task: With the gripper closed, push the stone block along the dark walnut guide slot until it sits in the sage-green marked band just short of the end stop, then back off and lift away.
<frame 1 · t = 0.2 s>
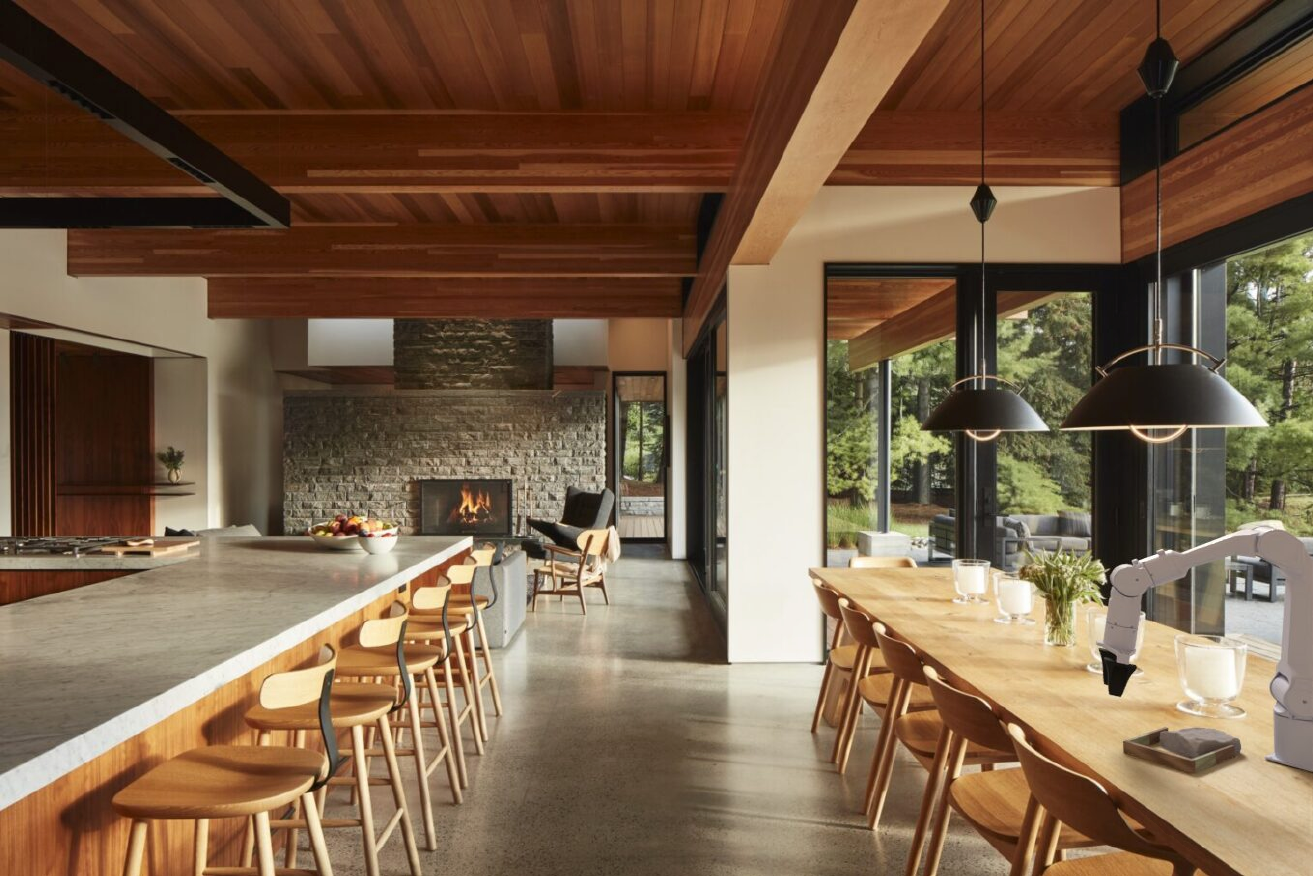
hand: (1112, 690, 167), 11 cm above the table, tool pointing down, fingers open, 7 cm apart
stone block: (1197, 751, 163), on the table
guide slot: (1178, 754, 160), on the table
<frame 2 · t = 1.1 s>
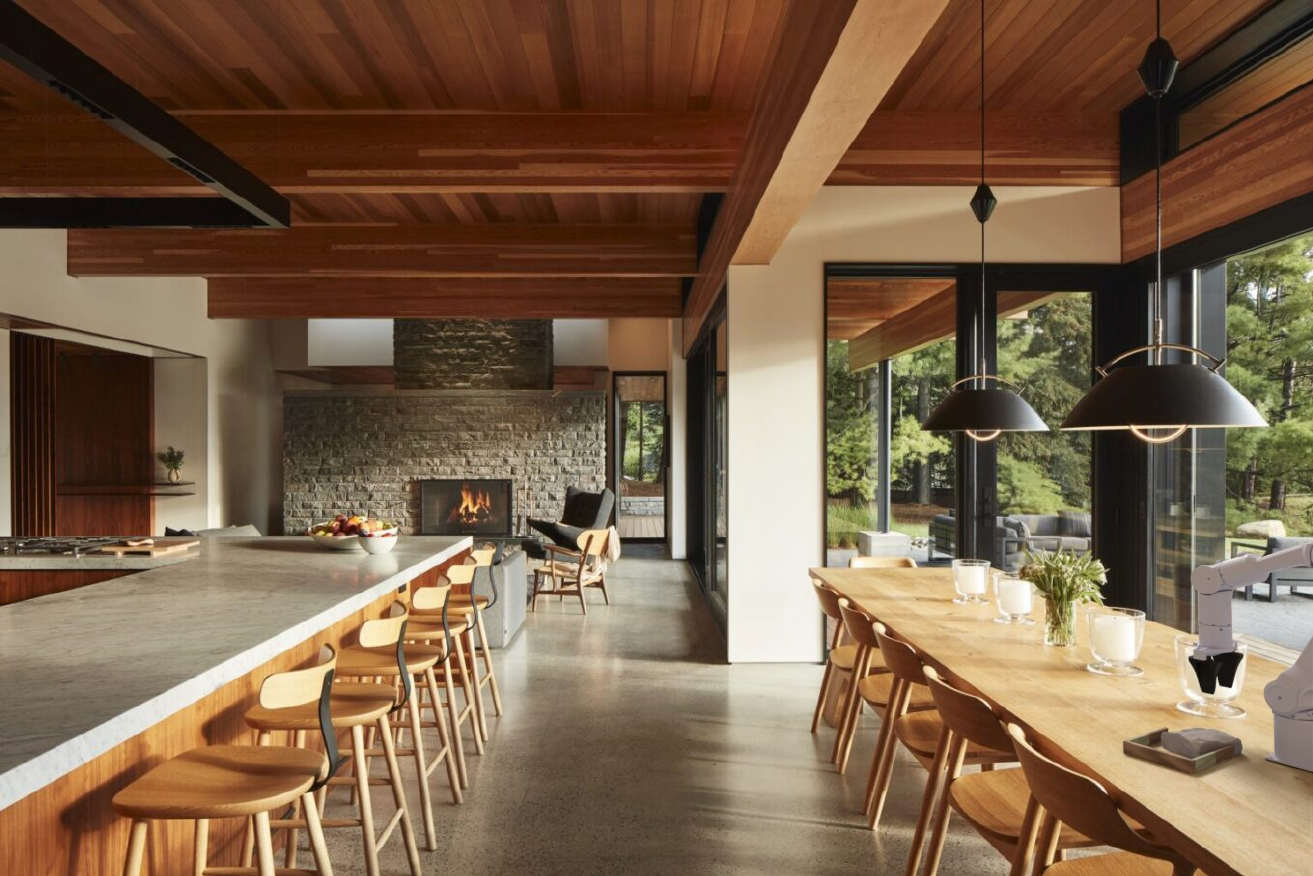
hand: (1216, 690, 170), 10 cm above the table, tool pointing down, fingers open, 7 cm apart
nothing on the table moved.
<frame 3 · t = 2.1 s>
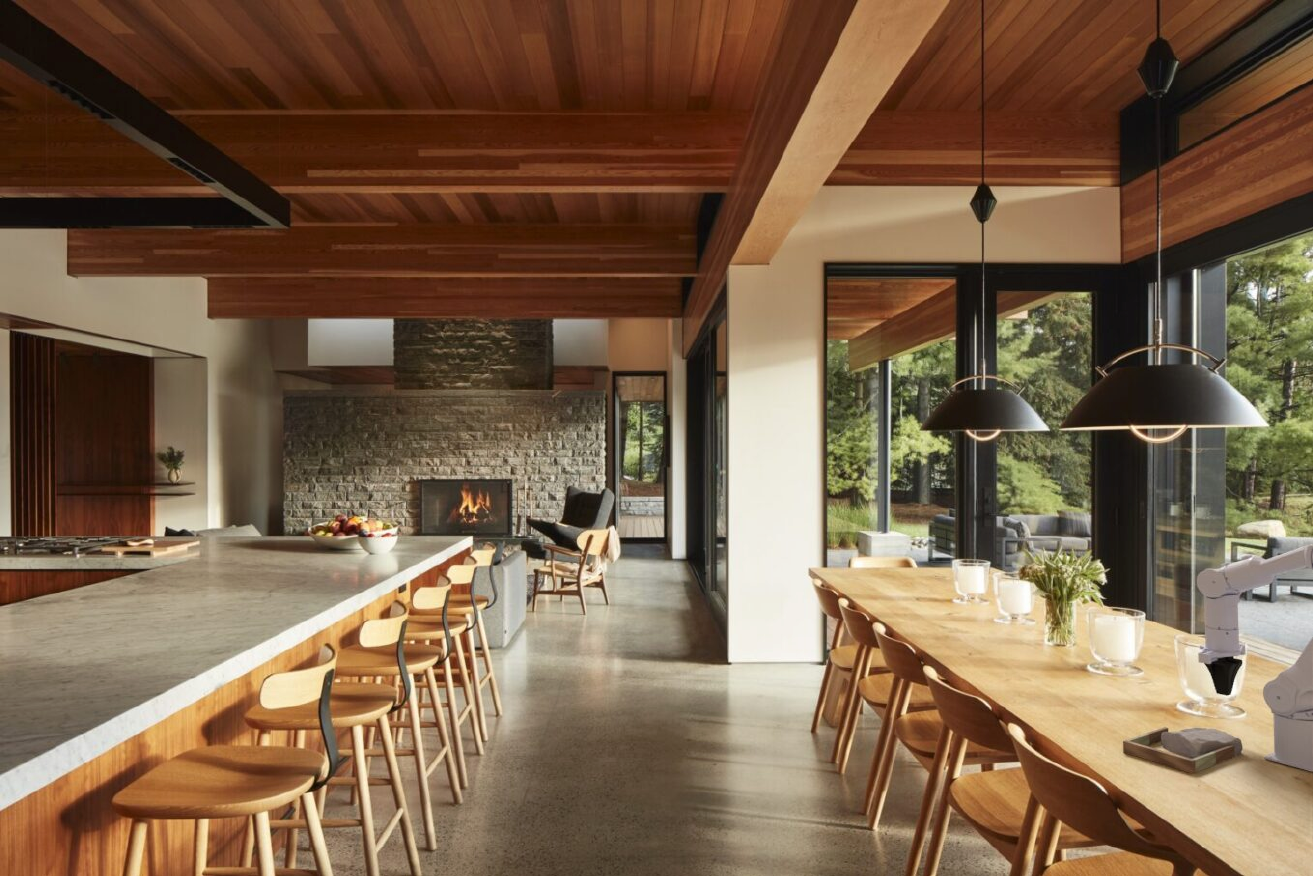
hand: (1223, 694, 169), 9 cm above the table, tool pointing down, fingers closed
nothing on the table moved.
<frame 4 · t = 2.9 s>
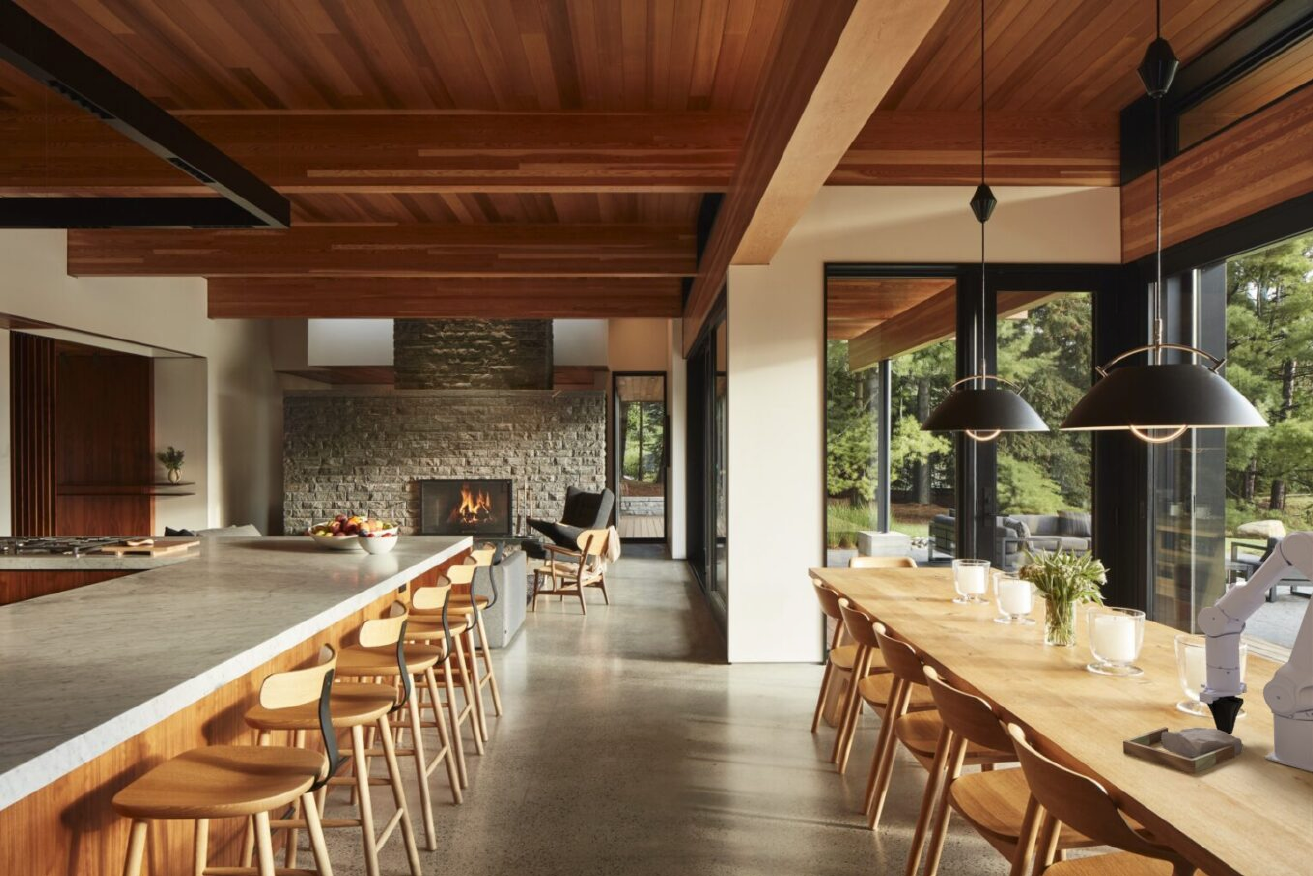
hand: (1224, 733, 169), 1 cm above the table, tool pointing down, fingers closed
nothing on the table moved.
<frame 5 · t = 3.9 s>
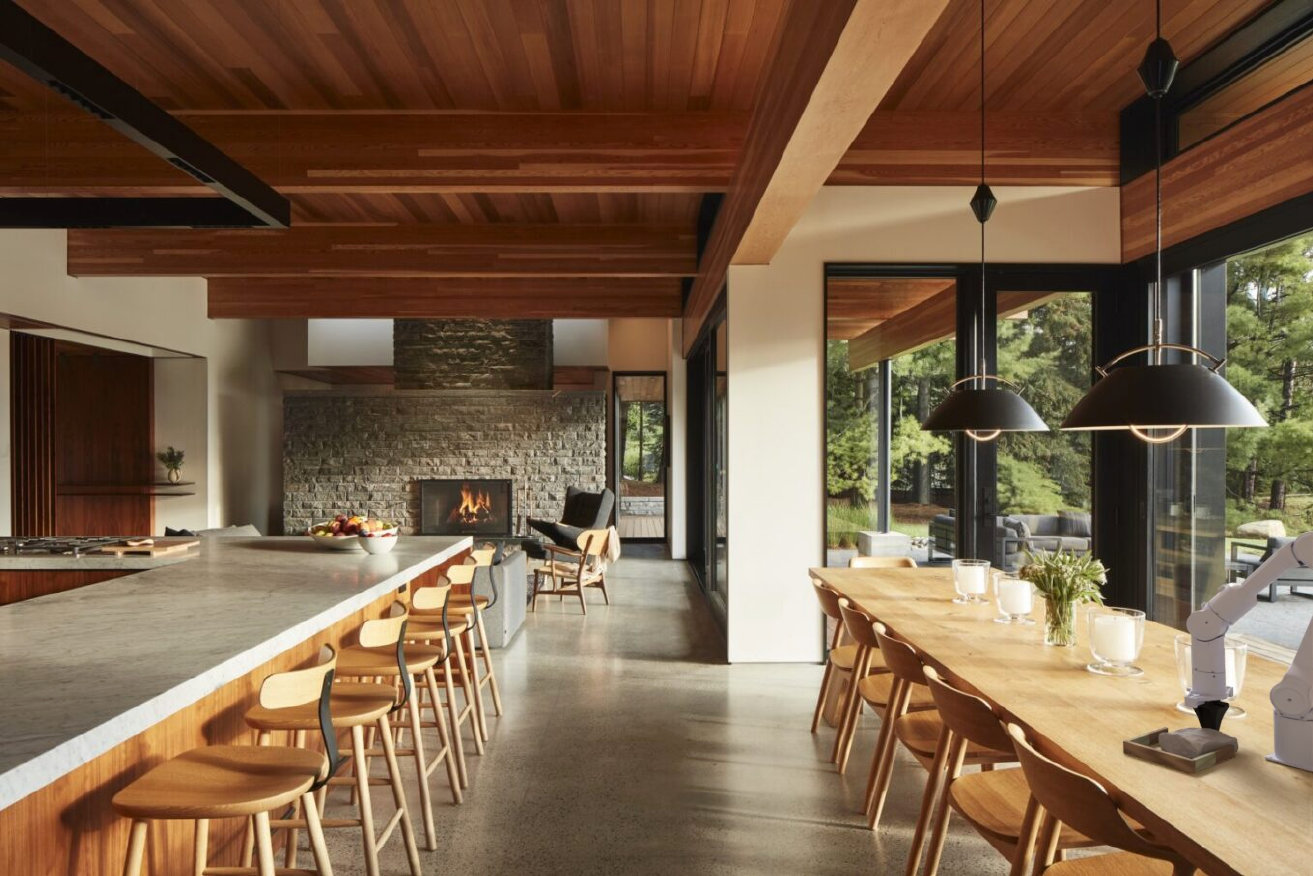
hand: (1210, 737, 166), 1 cm above the table, tool pointing down, fingers closed
stone block: (1195, 752, 162), on the table, touching gripper
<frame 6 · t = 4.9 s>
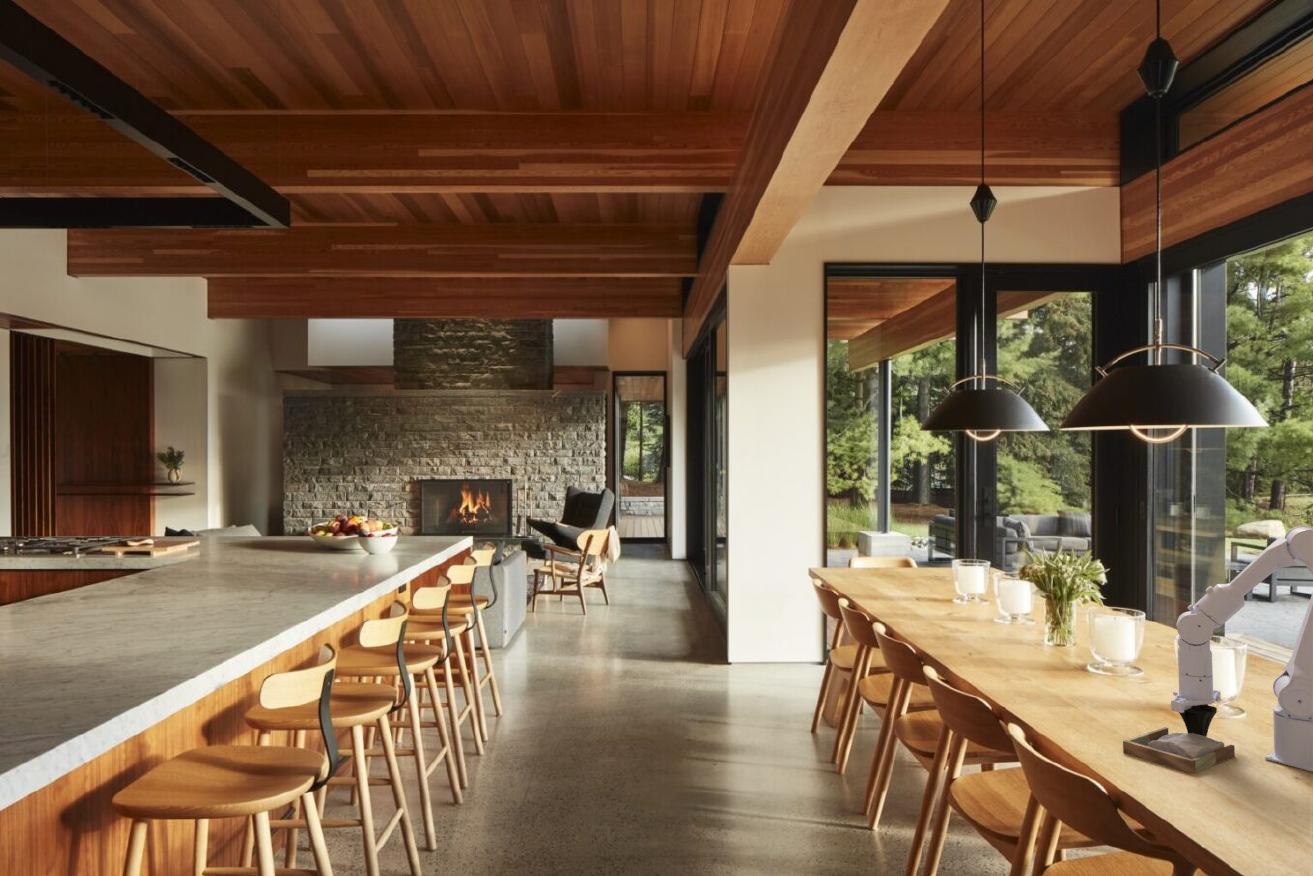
hand: (1197, 742, 164), 1 cm above the table, tool pointing down, fingers closed
stone block: (1184, 758, 159), on the table
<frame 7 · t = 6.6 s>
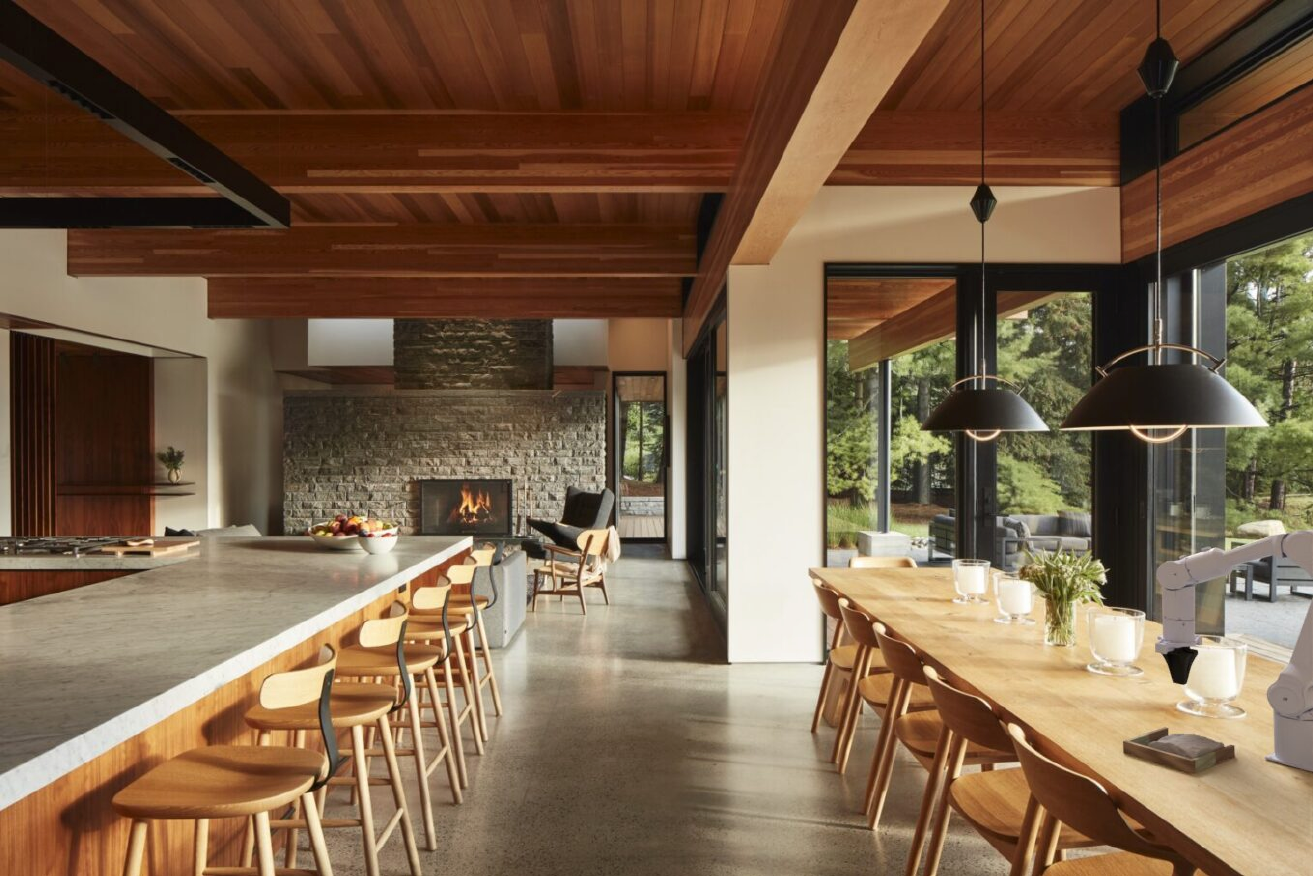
hand: (1179, 683, 173), 10 cm above the table, tool pointing down, fingers closed
nothing on the table moved.
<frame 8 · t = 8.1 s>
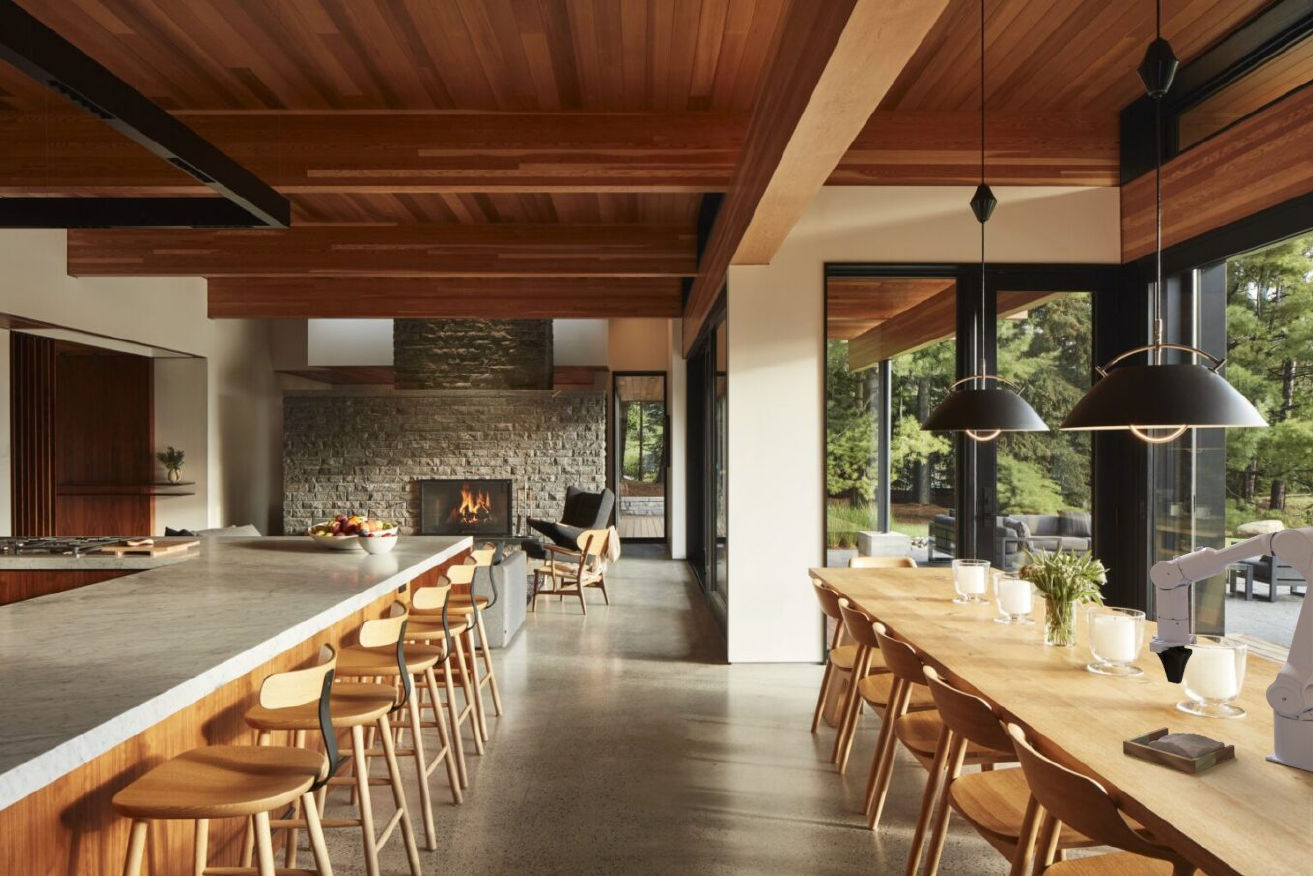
hand: (1174, 682, 175), 10 cm above the table, tool pointing down, fingers closed
nothing on the table moved.
at the end: stone block inside the target area (1.1 cm from its centre), on the table; the gripper is holding nothing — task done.
